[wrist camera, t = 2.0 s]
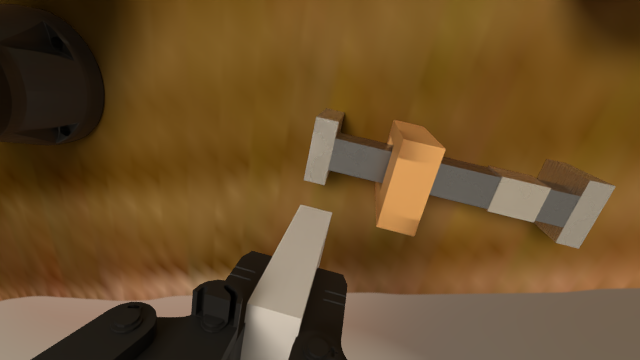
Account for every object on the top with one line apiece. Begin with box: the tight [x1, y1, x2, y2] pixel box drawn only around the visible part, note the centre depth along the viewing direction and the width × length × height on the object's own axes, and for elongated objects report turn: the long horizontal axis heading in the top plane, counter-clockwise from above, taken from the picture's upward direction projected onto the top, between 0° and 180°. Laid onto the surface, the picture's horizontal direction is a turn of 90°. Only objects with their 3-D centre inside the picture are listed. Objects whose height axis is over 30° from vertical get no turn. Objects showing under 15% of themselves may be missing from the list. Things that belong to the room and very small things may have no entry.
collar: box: [375, 120, 446, 236], centre depth 27 cm, size 3×7×10 cm, turn 168°
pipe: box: [304, 108, 616, 248], centre depth 30 cm, size 25×6×7 cm, turn 78°
